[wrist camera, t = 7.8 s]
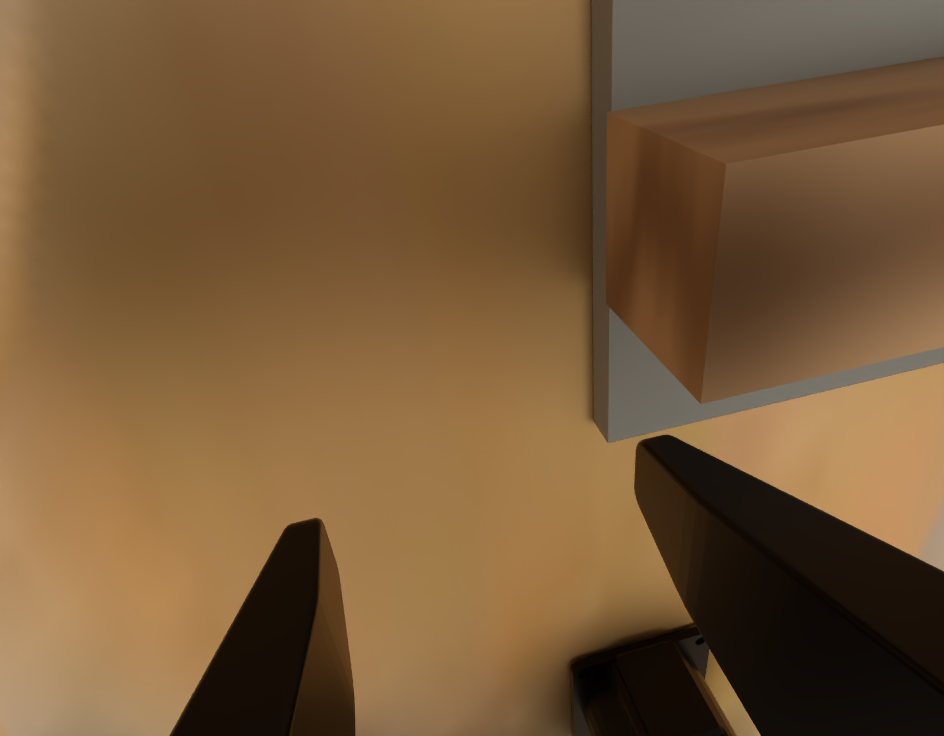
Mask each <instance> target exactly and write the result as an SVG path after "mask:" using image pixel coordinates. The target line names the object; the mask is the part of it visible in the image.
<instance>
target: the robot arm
mask: <svg viewBox="0 0 944 736" xmlns="http://www.w3.org/2000/svg"><path fill="white" fill-rule="evenodd" d="M634 489H635V495H636V499H637V502H638V505H639V507H640V510H641V512H642V514H643V516H644V518H645V521H646V523H647V525H648V527H649V529H650V532H651V534H652V536H653V538H654V540H655V543H656V545H657V547H658V549H659V551H660V554H661V556H662V558H663V560H664V562H665V565H666V567H667V569H668V571H669V574H670V576H671V578H672V580H673V582H674V585H675V587H676V589H677V591H678V593H679V595H680V597H681V599H682V601H683V603H684V606H685V607H686V609H687V611H688V613H689V615H690V616H691V618H692V620H693V622H694V623H695V625H696V627H693V628H690V629H686V630H683V631H679V632H676V633H672V634H669V635H665V636H662V637H658V638H655V639H651V640H648V641H644V642H641V643H637V644H634V645H630V646H627V647H623V648H620V649H616V650H613V651H609V652H606V653H602V654H599V655H595V656H592V657H588V658H585V659H581V660H579V661H576V662H575V663H573V664H572V666H571V667H570V688H571V712H572V736H737V735H736V733H735V732H734V730H733V728H732V727H731V725H730V723H729V721H728V720H727V718H726V716H725V714H724V713H723V711H722V709H721V707H720V706H719V704H718V702H717V701H716V699H715V697H714V695H713V694H712V692H711V690H710V688H709V687H708V685H707V683H706V681H705V673H706V667H707V660H708V654H709V649H710V650H711V652H712V654H713V655H714V657H715V659H716V661H717V662H718V664H719V666H720V667H721V669H722V671H723V672H724V674H725V676H726V677H727V679H728V681H729V682H730V684H731V686H732V688H733V689H734V691H735V693H736V694H737V696H738V698H739V699H740V701H741V703H742V704H743V706H744V708H745V709H746V711H747V713H748V714H749V716H750V718H751V720H752V721H753V723H754V725H755V726H756V728H757V730H758V731H759V733H760V735H761V736H944V572H943V571H942V570H940V569H938V568H936V567H934V566H932V565H930V564H928V563H926V562H924V561H922V560H920V559H918V558H916V557H914V556H912V555H910V554H908V553H906V552H904V551H902V550H900V549H898V548H896V547H894V546H892V545H890V544H888V543H886V542H884V541H882V540H880V539H878V538H876V537H874V536H872V535H870V534H868V533H866V532H864V531H862V530H860V529H858V528H856V527H854V526H852V525H850V524H848V523H846V522H844V521H842V520H840V519H838V518H836V517H834V516H832V515H830V514H828V513H826V512H824V511H822V510H820V509H818V508H816V507H814V506H812V505H810V504H808V503H806V502H804V501H802V500H800V499H798V498H796V497H794V496H792V495H790V494H787V493H785V492H783V491H781V490H779V489H777V488H775V487H773V486H771V485H769V484H767V483H765V482H763V481H761V480H759V479H757V478H755V477H753V476H751V475H749V474H747V473H745V472H743V471H741V470H739V469H737V468H735V467H733V466H731V465H729V464H727V463H725V462H723V461H721V460H719V459H717V458H715V457H713V456H711V455H709V454H707V453H705V452H703V451H701V450H699V449H697V448H695V447H693V446H691V445H689V444H687V443H685V442H683V441H681V440H679V439H677V438H675V437H673V436H670V435H661V436H656V437H652V438H648V439H644V440H641V441H640V442H639V443H638V445H637V447H636V458H635V482H634ZM170 736H355V701H354V688H353V678H352V670H351V662H350V654H349V647H348V639H347V631H346V623H345V615H344V608H343V600H342V592H341V584H340V577H339V572H338V567H337V563H336V560H335V557H334V554H333V551H332V548H331V545H330V541H329V538H328V535H327V532H326V529H325V526H324V523H323V522H322V520H321V519H319V518H313V519H309V520H304V521H300V522H296V523H292V524H290V525H288V526H287V527H286V528H285V529H284V531H283V533H282V535H281V536H280V538H279V540H278V542H277V543H276V545H275V547H274V549H273V551H272V552H271V554H270V556H269V558H268V560H267V561H266V563H265V565H264V567H263V569H262V570H261V572H260V574H259V576H258V578H257V579H256V581H255V583H254V585H253V587H252V588H251V590H250V592H249V594H248V596H247V597H246V599H245V601H244V603H243V605H242V606H241V608H240V610H239V612H238V614H237V615H236V617H235V619H234V621H233V623H232V624H231V626H230V628H229V630H228V632H227V633H226V635H225V637H224V639H223V641H222V642H221V644H220V646H219V648H218V649H217V651H216V653H215V655H214V657H213V658H212V660H211V662H210V664H209V666H208V667H207V669H206V671H205V673H204V675H203V676H202V678H201V680H200V682H199V684H198V685H197V687H196V689H195V691H194V693H193V694H192V696H191V698H190V700H189V702H188V703H187V705H186V707H185V709H184V711H183V712H182V714H181V716H180V718H179V720H178V721H177V723H176V725H175V727H174V729H173V730H172V732H171V734H170Z"/></svg>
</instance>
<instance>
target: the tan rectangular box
mask: <svg viewBox="0 0 944 736" xmlns="http://www.w3.org/2000/svg"><path fill="white" fill-rule="evenodd" d="M606 304H607V305H608V306H609V307H610V308H611V310H612V311H613V312H614V313H615V314H616V315H617V316H618V317H619V318H620V319H621V320H622V321H623V322H624V323H625V324H626V325H627V327H628V328H629V329H630V330H631V331H632V332H633V333H634V334H635V335H636V336H637V337H638V338H639V339H640V340H641V341H642V342H643V344H644V345H645V346H646V347H647V348H648V349H649V350H650V351H651V352H652V353H653V354H654V355H655V356H656V357H657V358H658V359H659V361H660V362H661V363H662V364H663V365H664V366H665V367H666V368H667V369H668V370H669V371H670V372H671V373H672V374H673V375H674V376H675V378H676V379H677V380H678V381H679V382H680V383H681V384H682V385H683V386H684V387H685V388H686V389H687V390H688V391H689V392H690V393H691V395H692V396H693V397H694V398H695V399H696V400H697V401H698V402H699V403H700V404H704V403H708V402H712V401H716V400H721V399H725V398H729V397H733V396H738V395H742V394H746V393H750V392H755V391H759V390H763V389H767V388H772V387H776V386H780V385H784V384H789V383H793V382H797V381H801V380H806V379H810V378H814V377H818V376H823V375H827V374H831V373H835V372H840V371H844V370H848V369H852V368H857V367H861V366H865V365H869V364H874V363H878V362H882V361H887V360H891V359H895V358H899V357H904V356H908V355H912V354H916V353H921V352H925V351H929V350H933V349H938V348H942V347H944V56H943V57H937V58H931V59H925V60H919V61H913V62H907V63H901V64H895V65H888V66H882V67H876V68H870V69H864V70H858V71H852V72H846V73H840V74H834V75H828V76H822V77H816V78H810V79H804V80H798V81H792V82H786V83H780V84H774V85H768V86H761V87H755V88H749V89H743V90H737V91H731V92H725V93H719V94H713V95H707V96H701V97H695V98H689V99H683V100H677V101H671V102H665V103H659V104H653V105H647V106H641V107H634V108H628V109H622V110H616V111H610V112H607V193H606Z"/></svg>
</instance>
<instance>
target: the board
mask: <svg viewBox="0 0 944 736" xmlns="http://www.w3.org/2000/svg"><path fill="white" fill-rule="evenodd" d="M591 23H592V210H593V397H594V423H595V424H596V426H597V427H598V429H599V430H600V432H601V433H602V435H603V436H604V438H605V439H606V441H607V442H608V443H610V442H615V441H619V440H623V439H627V438H631V437H635V436H640V435H644V434H648V433H652V432H656V431H661V430H665V429H669V428H673V427H677V426H681V425H686V424H690V423H694V422H698V421H702V420H707V419H711V418H715V417H719V416H723V415H727V414H732V413H736V412H740V411H744V410H748V409H753V408H757V407H761V406H765V405H769V404H773V403H778V402H782V401H786V400H790V399H794V398H799V397H803V396H807V395H811V394H815V393H819V392H824V391H828V390H832V389H836V388H840V387H845V386H849V385H853V384H857V383H861V382H865V381H870V380H874V379H878V378H882V377H886V376H891V375H895V374H899V373H903V372H907V371H911V370H916V369H920V368H924V367H928V366H932V365H937V364H941V363H944V347H942V348H938V349H933V350H929V351H925V352H921V353H916V354H912V355H908V356H904V357H899V358H895V359H891V360H887V361H882V362H878V363H874V364H869V365H865V366H861V367H857V368H852V369H848V370H844V371H840V372H835V373H831V374H827V375H823V376H818V377H814V378H810V379H806V380H801V381H797V382H793V383H789V384H784V385H780V386H776V387H772V388H767V389H763V390H759V391H755V392H750V393H746V394H742V395H738V396H733V397H729V398H725V399H721V400H716V401H712V402H708V403H704V404H700V403H699V402H698V401H697V400H696V399H695V398H694V397H693V396H692V395H691V393H690V392H689V391H688V390H687V389H686V388H685V387H684V386H683V385H682V384H681V383H680V382H679V381H678V380H677V379H676V378H675V376H674V375H673V374H672V373H671V372H670V371H669V370H668V369H667V368H666V367H665V366H664V365H663V364H662V363H661V362H660V361H659V359H658V358H657V357H656V356H655V355H654V354H653V353H652V352H651V351H650V350H649V349H648V348H647V347H646V346H645V345H644V344H643V342H642V341H641V340H640V339H639V338H638V337H637V336H636V335H635V334H634V333H633V332H632V331H631V330H630V329H629V328H628V327H627V325H626V324H625V323H624V322H623V321H622V320H621V319H620V318H619V317H618V316H617V315H616V314H615V313H614V312H613V311H612V310H611V308H610V307H609V306H608V305H607V304H606V193H607V112H610V111H616V110H622V109H628V108H634V107H641V106H647V105H653V104H659V103H665V102H671V101H677V100H683V99H689V98H695V97H701V96H707V95H713V94H719V93H725V92H731V91H737V90H743V89H749V88H755V87H761V86H768V85H774V84H780V83H786V82H792V81H798V80H804V79H810V78H816V77H822V76H828V75H834V74H840V73H846V72H852V71H858V70H864V69H870V68H876V67H882V66H888V65H895V64H901V63H907V62H913V61H919V60H925V59H931V58H937V57H943V56H944V0H591Z"/></svg>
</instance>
